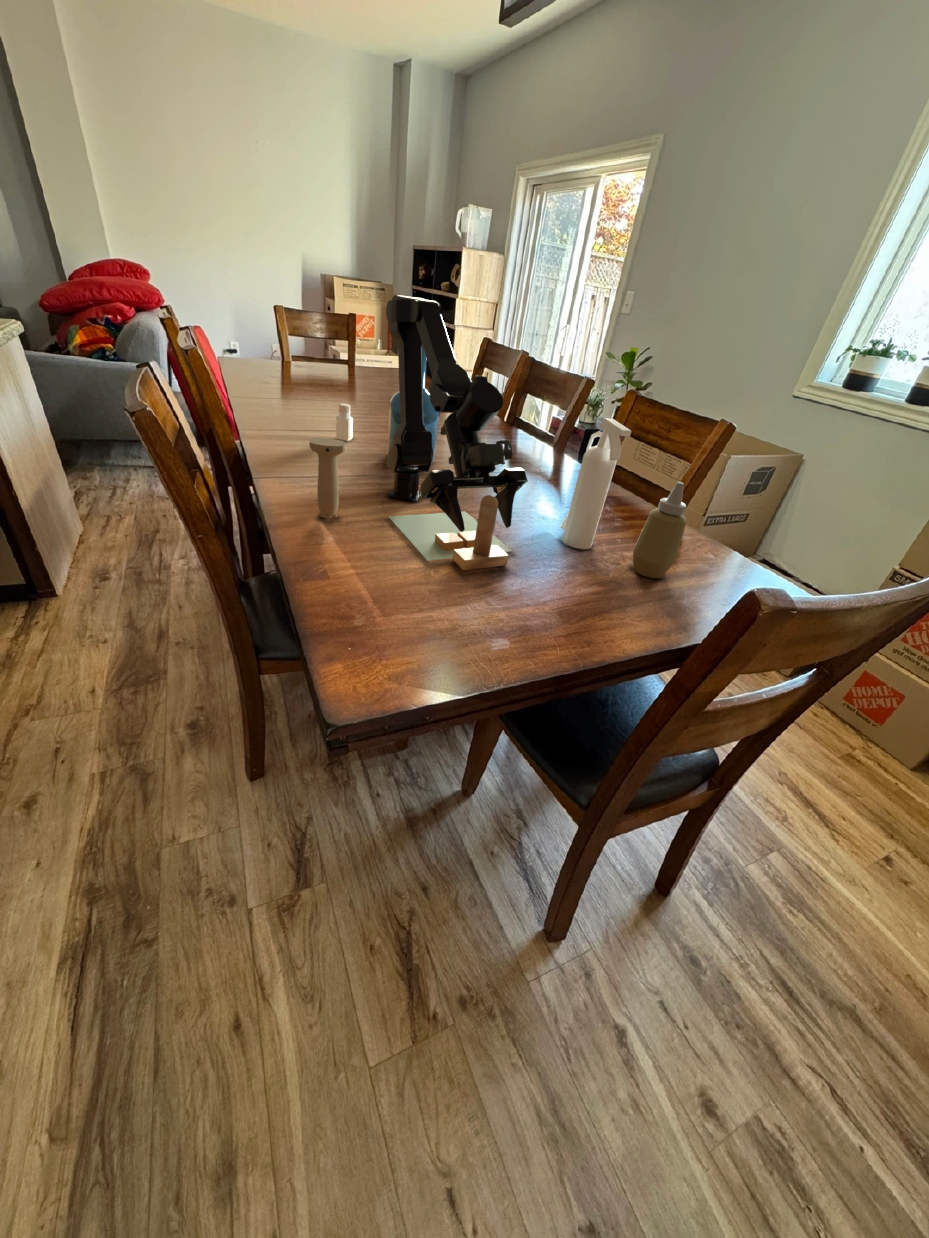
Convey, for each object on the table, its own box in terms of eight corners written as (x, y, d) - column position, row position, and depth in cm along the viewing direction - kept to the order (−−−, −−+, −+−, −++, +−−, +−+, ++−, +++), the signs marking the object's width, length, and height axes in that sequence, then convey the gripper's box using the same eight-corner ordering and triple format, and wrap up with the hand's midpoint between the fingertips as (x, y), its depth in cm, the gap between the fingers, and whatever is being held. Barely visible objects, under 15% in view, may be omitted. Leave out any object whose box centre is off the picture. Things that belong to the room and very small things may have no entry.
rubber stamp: (462, 575, 89) (473, 501, 82) (451, 564, 92) (461, 492, 85) (506, 570, 93) (520, 499, 86) (494, 559, 96) (506, 489, 89)
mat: (387, 520, 105) (387, 516, 104) (464, 514, 113) (465, 511, 112) (426, 564, 91) (427, 560, 90) (511, 555, 99) (512, 551, 98)
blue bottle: (433, 470, 136) (445, 344, 120) (383, 464, 135) (389, 336, 119) (436, 456, 148) (448, 339, 131) (390, 450, 147) (396, 331, 130)
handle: (345, 524, 100) (345, 447, 92) (310, 522, 99) (308, 444, 91) (345, 515, 104) (345, 439, 96) (312, 513, 103) (310, 436, 94)
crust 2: (456, 539, 99) (457, 531, 98) (474, 537, 101) (475, 530, 100) (466, 548, 96) (467, 540, 96) (484, 546, 98) (485, 539, 97)
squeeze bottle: (663, 586, 96) (699, 494, 86) (622, 571, 99) (652, 481, 89) (672, 572, 102) (707, 484, 92) (633, 558, 105) (663, 472, 95)
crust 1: (434, 541, 97) (435, 533, 96) (453, 539, 99) (454, 532, 98) (443, 550, 94) (444, 543, 93) (462, 548, 96) (463, 541, 95)
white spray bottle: (576, 529, 114) (607, 412, 101) (602, 554, 105) (641, 428, 91) (549, 529, 112) (577, 409, 99) (573, 554, 103) (609, 425, 89)
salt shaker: (335, 439, 148) (335, 405, 143) (340, 436, 152) (340, 402, 146) (348, 442, 148) (348, 407, 143) (353, 438, 151) (353, 405, 146)
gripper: (433, 418, 79) (457, 513, 77) (532, 421, 87) (556, 507, 85) (410, 454, 89) (430, 539, 87) (501, 454, 97) (521, 531, 95)
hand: (486, 529), depth 88 cm, fingers open, 9 cm apart
